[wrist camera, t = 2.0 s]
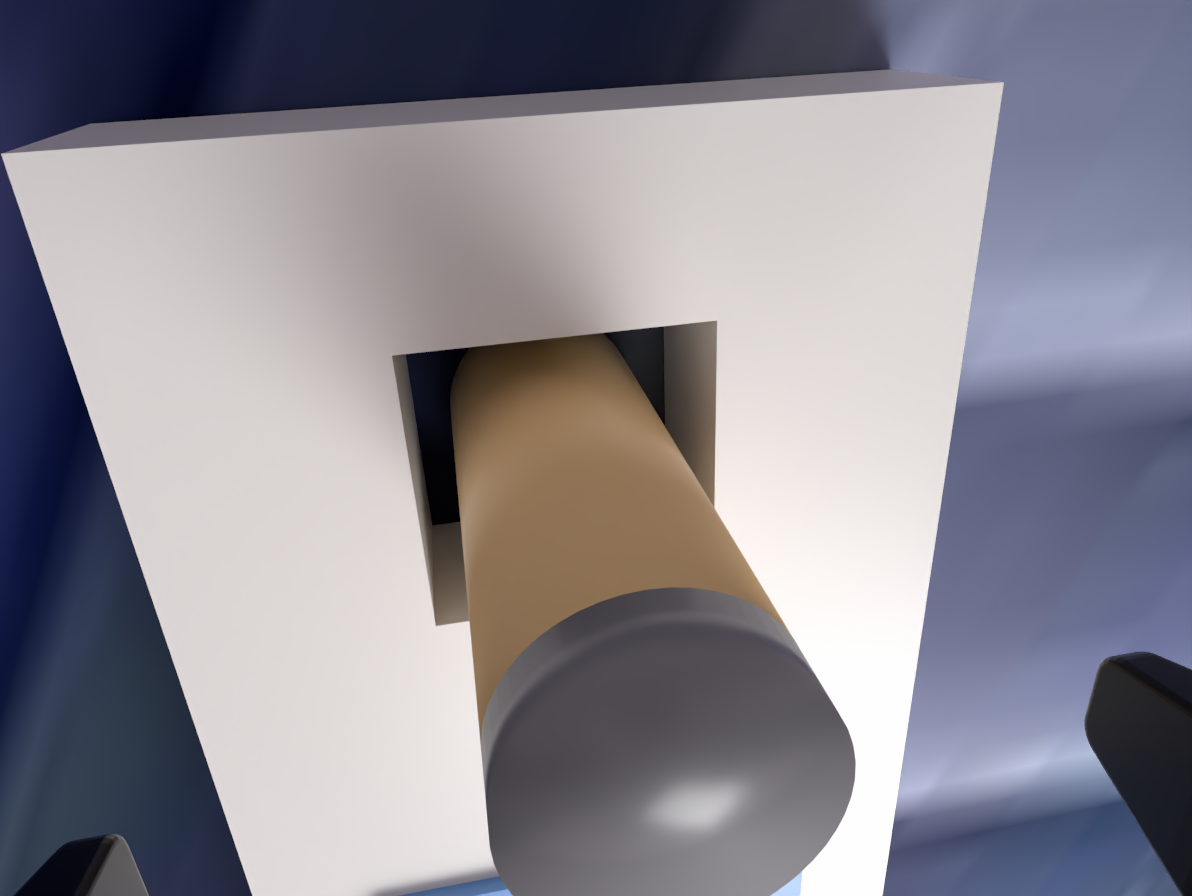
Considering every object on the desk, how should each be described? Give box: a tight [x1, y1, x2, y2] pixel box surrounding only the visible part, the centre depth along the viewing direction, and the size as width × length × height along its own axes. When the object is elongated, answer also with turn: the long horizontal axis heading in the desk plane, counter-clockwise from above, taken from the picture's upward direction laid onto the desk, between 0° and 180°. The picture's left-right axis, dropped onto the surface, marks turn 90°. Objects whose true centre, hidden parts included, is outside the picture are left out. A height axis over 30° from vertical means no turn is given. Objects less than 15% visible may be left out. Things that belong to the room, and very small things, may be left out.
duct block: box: [1, 69, 1004, 896], centre depth 17 cm, size 12×22×3 cm, turn 2°
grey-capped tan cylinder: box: [450, 333, 856, 896], centre depth 11 cm, size 3×3×9 cm
